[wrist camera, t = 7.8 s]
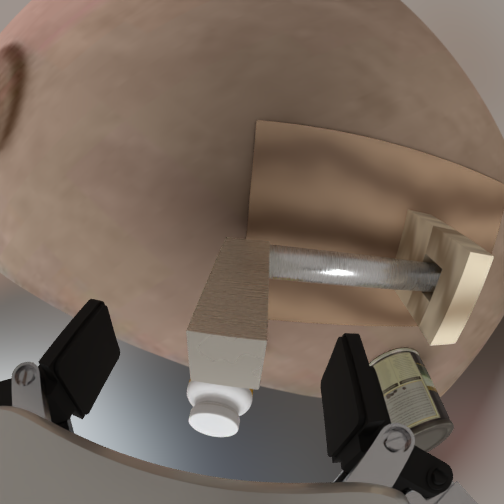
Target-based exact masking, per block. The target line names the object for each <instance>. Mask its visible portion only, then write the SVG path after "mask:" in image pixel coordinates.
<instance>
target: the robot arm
mask: <svg viewBox="0 0 504 504" xmlns="http://www.w3.org/2000/svg"><path fill="white" fill-rule="evenodd" d="M119 356H120V349H119V346H118V343H117V340H116V336H115V333H114V329H113V326H112V322H111V319H110V315H109V311H108V308H107V306H105V304H104V302H103V301H99V300H95V299H90V300H89V301H88V302H87V303H86V304H85V305H84V306H83V308H82V309H81V310H80V311H79V312H78V313H77V315H76V316H75V317H74V318H73V319H72V320H71V322H70V323H69V324H68V325H67V326H66V328H65V329H64V330H63V331H62V332H61V334H60V335H59V336H58V337H57V339H56V340H55V341H54V342H53V344H52V345H51V347H49V349H48V350H47V351H46V353H45V354H44V355H43V357H42V358H41V359H40V361H39V364H40V365H39V366H38V367H37V366H36V365H35V364H34V363H31V362H24V363H21V364H20V365H18V366H17V367H16V368H15V369H14V371H13V373H12V378H11V379H8V380H4V381H1V382H0V504H477V502H476V501H475V500H474V499H473V498H472V497H471V496H470V495H469V494H468V493H467V492H466V490H465V489H464V488H463V487H462V486H461V485H460V484H459V483H458V482H455V483H454V482H453V481H452V480H453V473H452V469H451V468H450V466H449V465H447V464H446V463H445V462H443V461H441V460H440V459H438V458H436V457H434V456H432V455H431V454H429V453H427V452H426V451H424V450H422V449H420V448H419V447H417V446H415V445H414V444H415V437H414V434H413V432H412V431H411V430H410V428H408V427H407V426H406V425H403V424H400V423H392V424H391V420H390V417H389V413H388V409H387V406H386V402H385V399H384V395H383V392H382V389H381V386H380V382H379V379H378V376H377V373H376V370H375V368H374V367H373V366H369V363H368V359H367V356H366V353H365V350H364V347H363V344H362V341H361V338H360V335H359V334H350V333H344V334H343V336H342V337H339V338H338V339H337V342H336V345H335V347H334V350H333V353H332V355H331V358H330V360H329V363H328V365H327V368H326V370H325V372H324V375H323V377H322V380H321V394H322V402H323V410H324V420H325V430H326V441H327V452H328V456H329V457H332V461H333V463H337V462H341V468H342V469H343V471H342V472H341V473H340V474H339V475H338V477H337V478H336V479H335V480H334V481H333V482H332V483H331V482H330V483H269V482H252V481H242V480H233V479H225V478H218V477H211V476H206V475H200V474H195V473H190V472H185V471H181V470H176V469H172V468H168V467H164V466H160V465H157V464H153V463H150V462H146V461H143V460H140V459H137V458H134V457H131V456H128V455H125V454H122V453H119V452H117V451H114V450H111V449H109V448H106V447H103V446H101V445H99V444H96V443H94V442H92V441H89V440H87V439H85V438H83V437H81V436H78V435H76V434H74V431H73V427H72V424H71V419H70V417H71V415H72V414H73V415H75V416H77V417H79V418H81V419H83V418H84V416H85V414H88V413H89V412H90V410H91V408H92V406H93V404H94V402H95V401H96V399H97V397H98V395H99V393H100V391H101V389H102V387H103V386H104V384H105V382H106V380H107V378H108V376H109V375H110V373H111V371H112V369H113V367H114V366H115V364H116V362H117V360H118V359H119Z"/></svg>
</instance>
